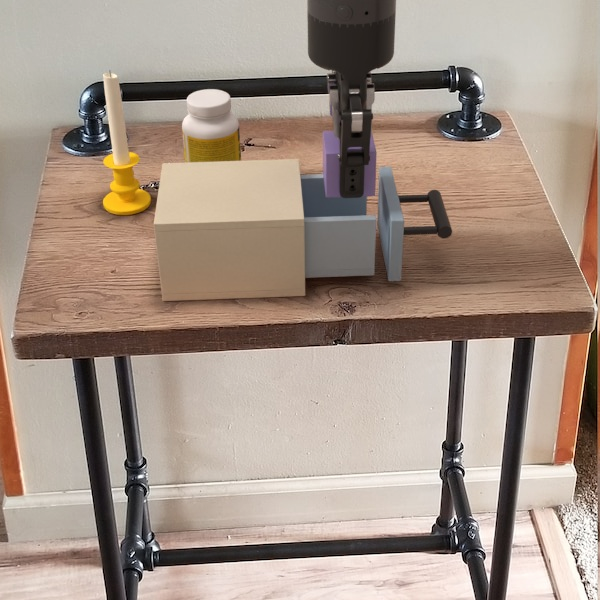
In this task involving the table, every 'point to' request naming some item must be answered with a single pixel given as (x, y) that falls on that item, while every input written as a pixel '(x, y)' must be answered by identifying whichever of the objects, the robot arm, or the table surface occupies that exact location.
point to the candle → (121, 158)
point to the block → (333, 166)
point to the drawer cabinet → (230, 230)
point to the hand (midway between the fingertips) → (349, 181)
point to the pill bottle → (210, 128)
